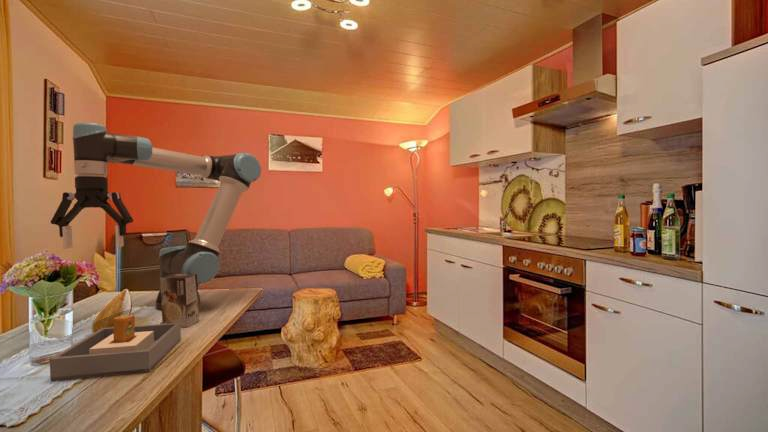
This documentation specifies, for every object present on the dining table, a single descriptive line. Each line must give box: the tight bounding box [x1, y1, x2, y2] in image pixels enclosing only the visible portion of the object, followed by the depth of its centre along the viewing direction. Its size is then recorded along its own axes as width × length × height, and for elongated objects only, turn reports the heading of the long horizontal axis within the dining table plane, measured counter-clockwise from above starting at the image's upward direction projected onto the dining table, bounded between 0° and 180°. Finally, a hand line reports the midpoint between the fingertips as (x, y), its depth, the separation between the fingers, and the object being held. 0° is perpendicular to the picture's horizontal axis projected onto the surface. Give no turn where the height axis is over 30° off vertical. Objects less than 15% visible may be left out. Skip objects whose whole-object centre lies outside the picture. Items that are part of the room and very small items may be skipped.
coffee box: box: [159, 274, 200, 328], centre depth 116 cm, size 9×6×16 cm
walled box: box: [49, 323, 182, 382], centre depth 91 cm, size 20×20×5 cm
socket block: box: [89, 331, 154, 354], centre depth 91 cm, size 10×10×4 cm
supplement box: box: [113, 313, 136, 343], centre depth 91 cm, size 3×4×10 cm
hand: (94, 247), depth 105 cm, fingers open, 13 cm apart
